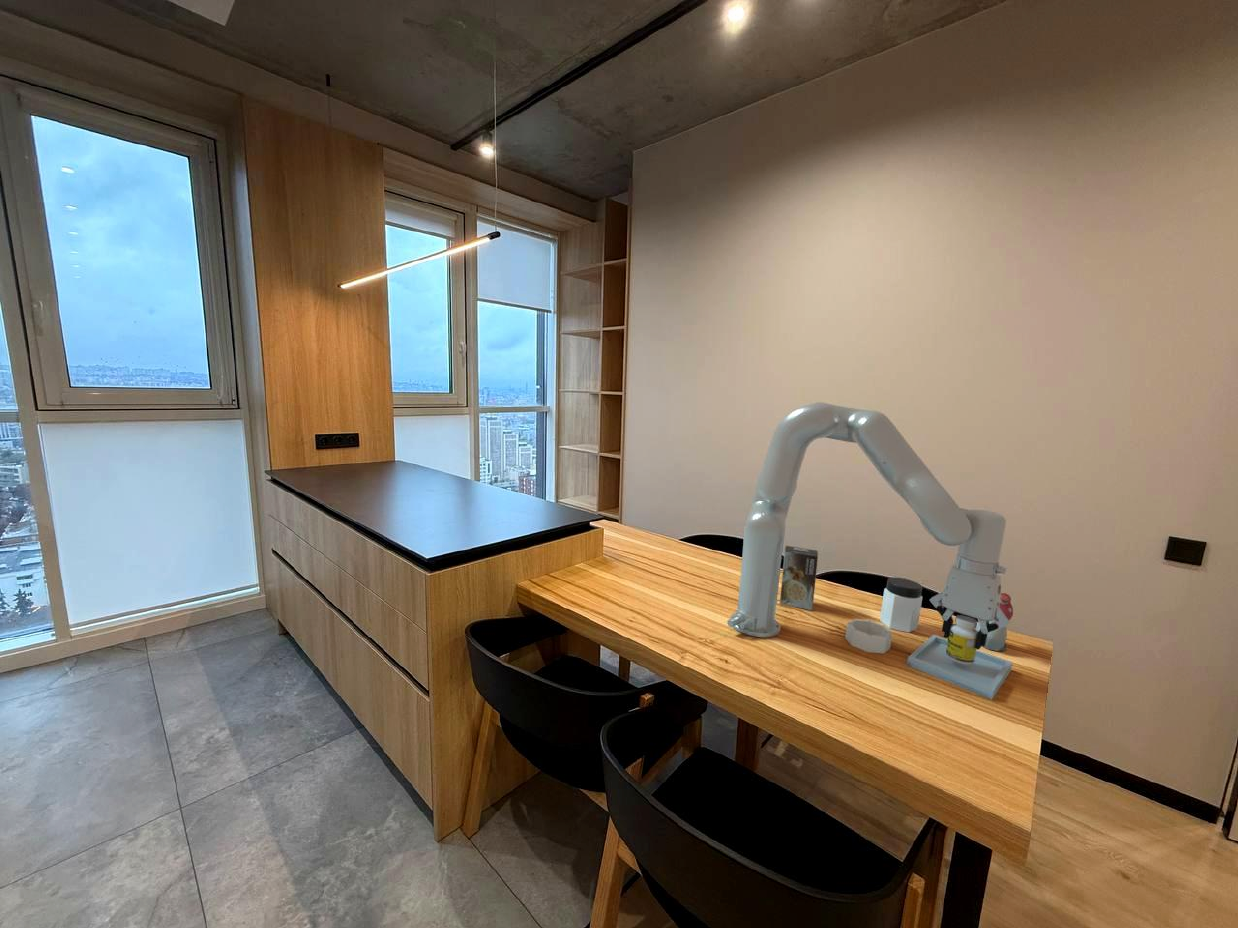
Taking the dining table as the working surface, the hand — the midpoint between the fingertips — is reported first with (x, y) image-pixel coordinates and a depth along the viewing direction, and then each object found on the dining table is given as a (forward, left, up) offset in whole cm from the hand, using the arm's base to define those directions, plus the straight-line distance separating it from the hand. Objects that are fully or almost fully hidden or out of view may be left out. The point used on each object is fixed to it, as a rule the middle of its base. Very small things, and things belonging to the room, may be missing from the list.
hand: (962, 640), depth 112 cm
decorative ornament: (+20, -2, -7) cm, 21 cm away
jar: (+12, +17, -7) cm, 22 cm away
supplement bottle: (0, 0, -5) cm, 5 cm away
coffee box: (+1, +41, -7) cm, 41 cm away
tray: (0, 0, -7) cm, 7 cm away
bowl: (-6, +18, -7) cm, 20 cm away
